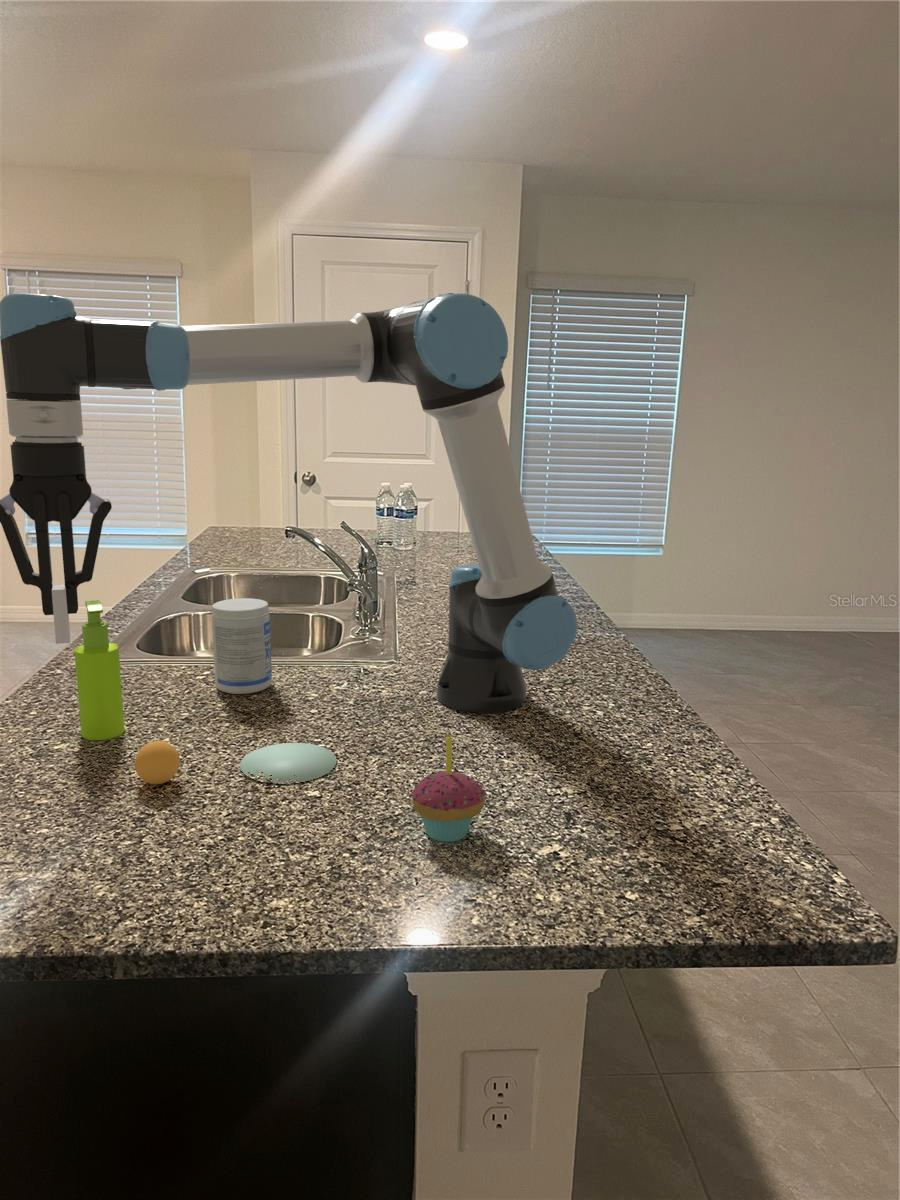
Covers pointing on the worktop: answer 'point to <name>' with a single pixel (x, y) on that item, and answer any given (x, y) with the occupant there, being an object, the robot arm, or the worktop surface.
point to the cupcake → (448, 801)
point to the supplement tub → (242, 645)
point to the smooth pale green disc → (289, 762)
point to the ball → (157, 762)
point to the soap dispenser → (98, 679)
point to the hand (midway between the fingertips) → (63, 640)
